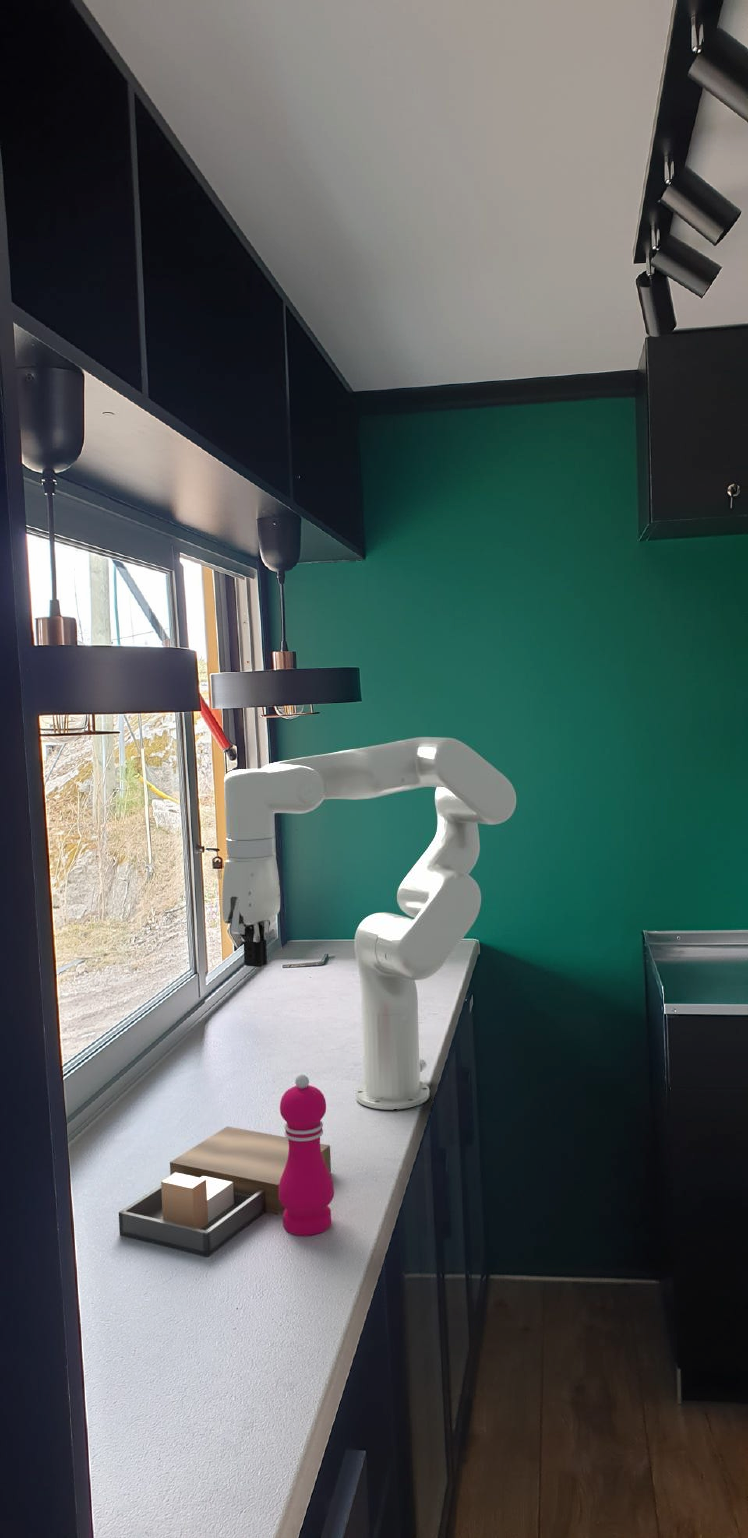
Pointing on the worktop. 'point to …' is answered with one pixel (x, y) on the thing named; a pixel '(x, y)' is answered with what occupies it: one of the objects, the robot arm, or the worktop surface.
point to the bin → (149, 1226)
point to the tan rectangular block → (185, 1200)
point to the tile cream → (218, 1196)
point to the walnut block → (243, 1162)
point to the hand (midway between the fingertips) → (255, 964)
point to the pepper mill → (305, 1162)
